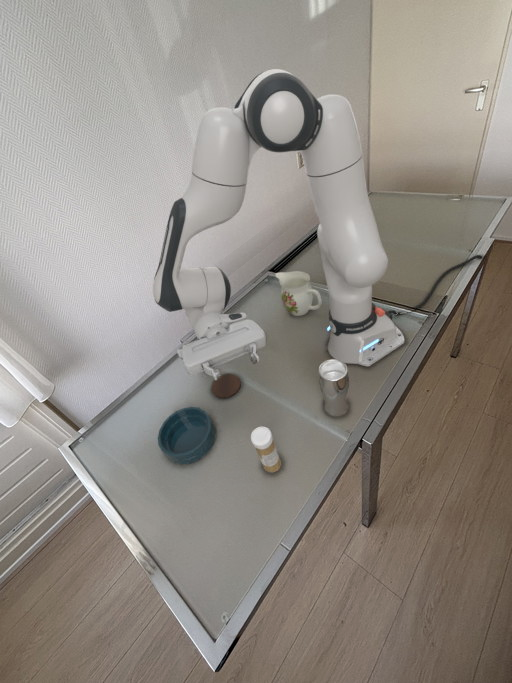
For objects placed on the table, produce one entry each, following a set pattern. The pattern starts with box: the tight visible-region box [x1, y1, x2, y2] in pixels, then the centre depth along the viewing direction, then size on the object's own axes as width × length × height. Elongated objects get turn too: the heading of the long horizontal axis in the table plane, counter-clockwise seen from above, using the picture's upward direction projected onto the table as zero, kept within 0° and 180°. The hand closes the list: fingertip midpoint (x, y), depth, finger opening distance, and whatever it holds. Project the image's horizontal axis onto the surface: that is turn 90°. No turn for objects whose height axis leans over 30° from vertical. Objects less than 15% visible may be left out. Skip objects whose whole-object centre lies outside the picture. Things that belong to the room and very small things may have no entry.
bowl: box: [157, 406, 217, 466], centre depth 85 cm, size 14×14×5 cm
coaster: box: [211, 373, 242, 399], centre depth 97 cm, size 9×9×1 cm
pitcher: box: [274, 270, 323, 317], centre depth 112 cm, size 11×18×14 cm, turn 49°
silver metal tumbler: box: [318, 358, 350, 418], centre depth 79 cm, size 7×7×15 cm
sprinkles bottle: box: [250, 425, 282, 474], centre depth 72 cm, size 5×5×13 cm
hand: (237, 369), depth 71 cm, fingers open, 8 cm apart
